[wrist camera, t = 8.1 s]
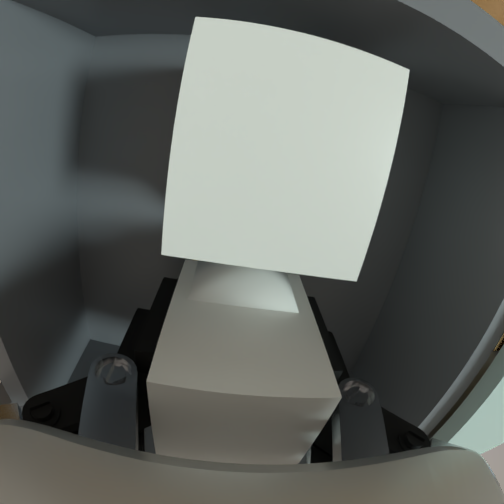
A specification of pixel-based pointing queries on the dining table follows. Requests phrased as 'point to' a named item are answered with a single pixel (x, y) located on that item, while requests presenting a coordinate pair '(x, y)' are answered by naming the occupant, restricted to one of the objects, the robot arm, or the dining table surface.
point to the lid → (479, 413)
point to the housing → (155, 182)
